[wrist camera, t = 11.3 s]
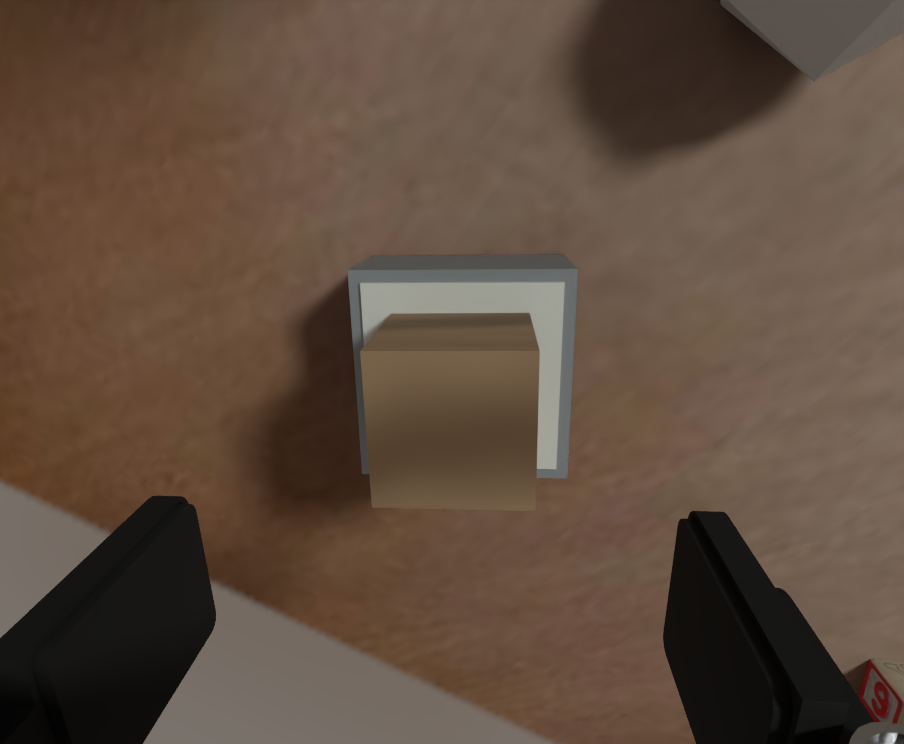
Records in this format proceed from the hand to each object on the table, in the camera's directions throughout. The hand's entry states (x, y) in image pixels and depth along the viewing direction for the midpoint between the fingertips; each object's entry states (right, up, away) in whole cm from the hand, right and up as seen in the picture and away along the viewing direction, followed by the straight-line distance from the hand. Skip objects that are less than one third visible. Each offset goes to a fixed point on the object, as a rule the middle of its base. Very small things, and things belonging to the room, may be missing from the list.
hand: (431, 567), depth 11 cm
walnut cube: (+1, +4, +13) cm, 13 cm away
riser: (+1, +5, +17) cm, 18 cm away
